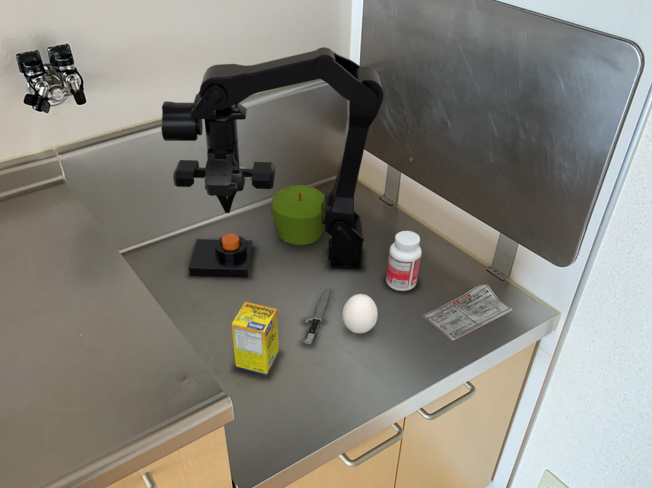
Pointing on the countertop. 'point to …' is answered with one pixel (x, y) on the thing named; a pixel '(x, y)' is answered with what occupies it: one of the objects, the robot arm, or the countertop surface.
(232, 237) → the button
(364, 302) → the egg
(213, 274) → the black button base
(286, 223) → the apple
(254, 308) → the supplement box
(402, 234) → the pill bottle
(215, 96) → the robot arm
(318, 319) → the knife
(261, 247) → the countertop surface
